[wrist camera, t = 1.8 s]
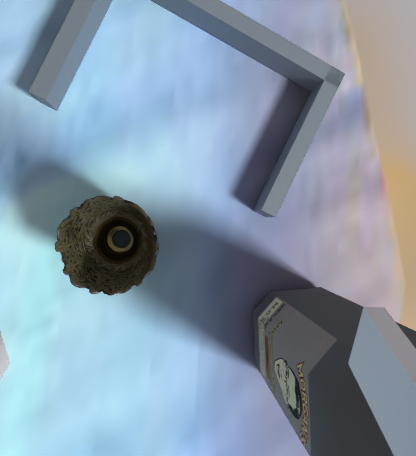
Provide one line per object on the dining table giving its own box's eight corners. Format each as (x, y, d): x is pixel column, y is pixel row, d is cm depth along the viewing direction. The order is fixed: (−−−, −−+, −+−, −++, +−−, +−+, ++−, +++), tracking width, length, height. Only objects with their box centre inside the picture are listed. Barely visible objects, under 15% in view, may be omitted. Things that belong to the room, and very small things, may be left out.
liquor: (334, 284, 36) (1149, 616, 6) (337, 369, 36) (1117, 1071, 7) (249, 290, 35) (739, 731, 5) (253, 378, 35) (729, 1269, 5)
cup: (73, 209, 32) (43, 207, 24) (150, 192, 33) (145, 186, 25) (92, 284, 33) (68, 307, 25) (167, 267, 34) (167, 282, 26)
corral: (41, 102, 32) (28, 91, 29) (113, -40, 32) (107, -66, 29) (266, 216, 35) (275, 217, 32) (329, 85, 35) (344, 73, 32)
